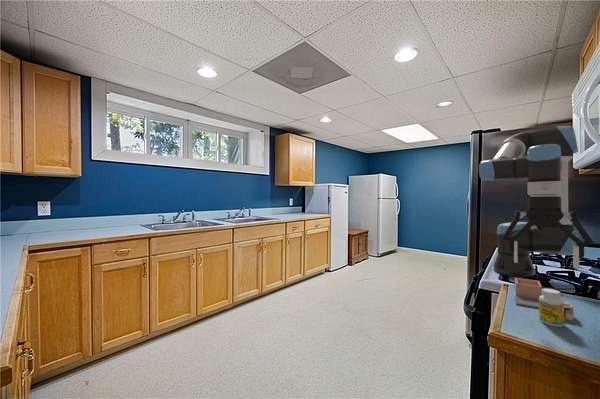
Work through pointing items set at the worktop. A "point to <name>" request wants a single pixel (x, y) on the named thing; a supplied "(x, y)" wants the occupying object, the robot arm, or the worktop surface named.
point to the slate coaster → (527, 302)
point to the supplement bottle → (551, 308)
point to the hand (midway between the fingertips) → (544, 265)
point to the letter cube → (568, 311)
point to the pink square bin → (528, 288)
